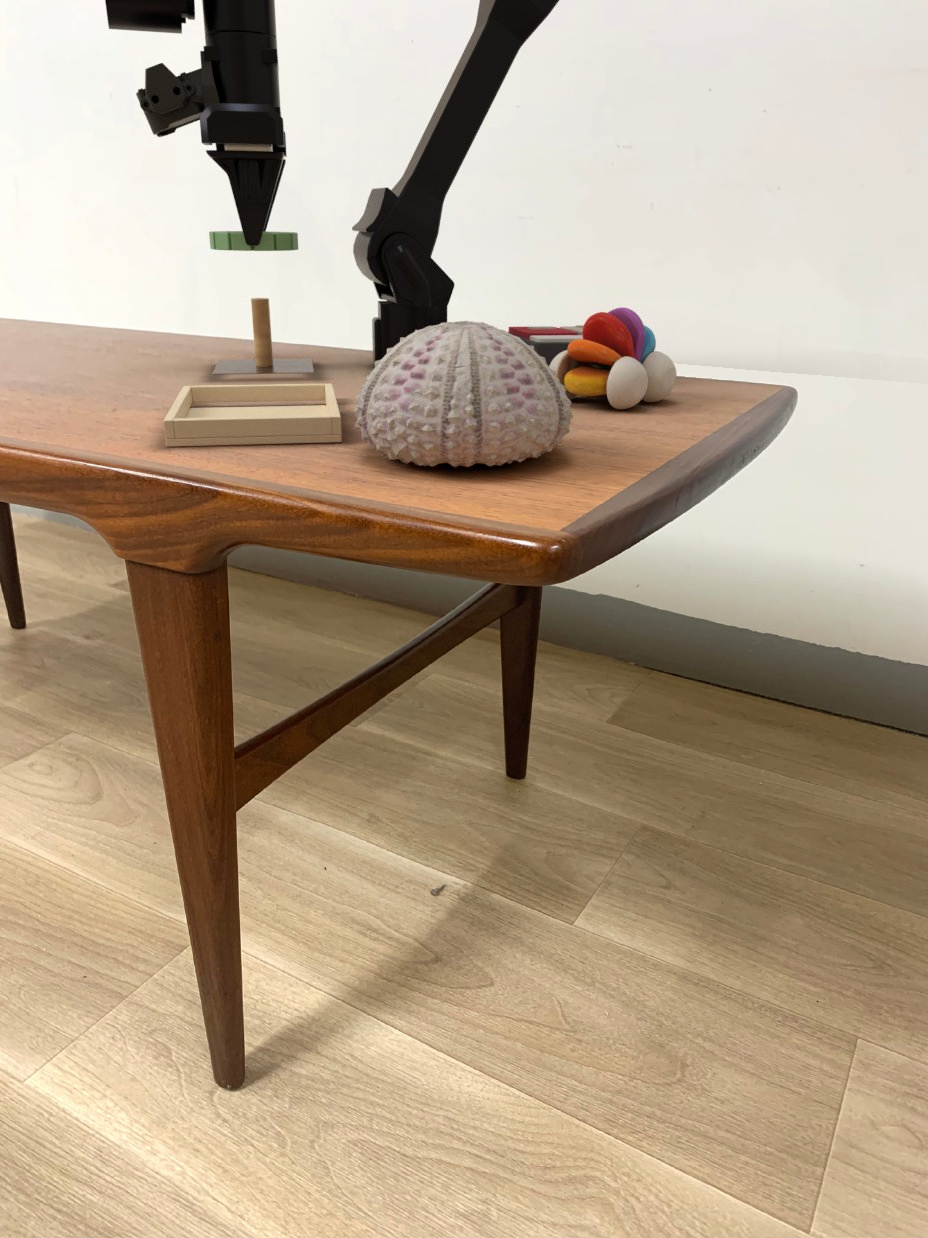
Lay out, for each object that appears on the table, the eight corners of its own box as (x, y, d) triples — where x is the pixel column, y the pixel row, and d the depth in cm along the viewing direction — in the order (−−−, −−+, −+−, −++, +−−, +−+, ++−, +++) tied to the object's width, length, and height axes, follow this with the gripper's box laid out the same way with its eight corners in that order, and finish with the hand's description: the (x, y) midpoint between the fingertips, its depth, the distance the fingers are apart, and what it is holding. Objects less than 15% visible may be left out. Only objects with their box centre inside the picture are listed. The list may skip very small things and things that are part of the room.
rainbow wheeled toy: (531, 401, 77) (535, 307, 74) (601, 387, 84) (607, 300, 81) (619, 416, 72) (626, 316, 69) (686, 400, 78) (695, 308, 76)
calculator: (607, 323, 98) (656, 332, 84) (605, 366, 99) (652, 382, 85) (502, 324, 96) (534, 333, 82) (501, 367, 98) (532, 384, 84)
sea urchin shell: (311, 456, 59) (304, 321, 56) (452, 423, 69) (453, 307, 66) (479, 495, 51) (481, 341, 48) (610, 452, 61) (620, 322, 58)
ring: (298, 248, 88) (297, 231, 87) (298, 251, 81) (297, 233, 80) (214, 247, 87) (212, 230, 86) (206, 250, 80) (205, 232, 79)
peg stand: (312, 364, 94) (308, 294, 92) (314, 379, 86) (310, 302, 84) (219, 365, 93) (212, 294, 90) (212, 380, 85) (205, 302, 82)
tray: (333, 405, 75) (332, 383, 74) (341, 442, 63) (340, 416, 62) (185, 408, 73) (183, 385, 72) (166, 446, 61) (163, 420, 60)
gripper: (154, 50, 85) (172, 239, 91) (118, 10, 68) (143, 246, 74) (281, 55, 86) (291, 241, 93) (277, 18, 69) (289, 247, 76)
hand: (254, 243), depth 84 cm, fingers closed on ring, 7 cm apart
